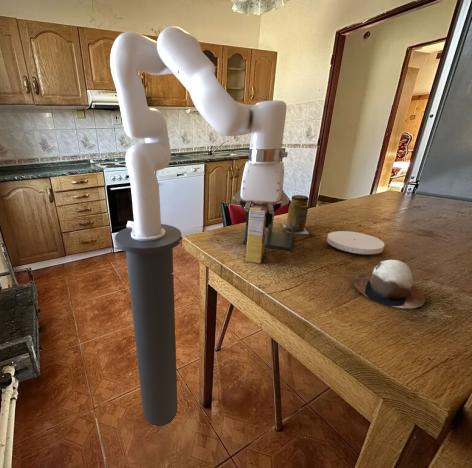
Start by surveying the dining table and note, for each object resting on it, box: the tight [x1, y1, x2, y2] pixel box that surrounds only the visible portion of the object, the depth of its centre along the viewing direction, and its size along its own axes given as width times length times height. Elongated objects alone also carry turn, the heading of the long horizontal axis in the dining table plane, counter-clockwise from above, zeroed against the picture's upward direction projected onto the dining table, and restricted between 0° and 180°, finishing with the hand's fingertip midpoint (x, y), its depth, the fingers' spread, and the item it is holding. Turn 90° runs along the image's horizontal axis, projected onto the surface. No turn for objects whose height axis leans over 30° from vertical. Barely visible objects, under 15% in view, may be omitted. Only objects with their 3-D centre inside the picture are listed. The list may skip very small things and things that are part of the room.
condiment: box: [282, 194, 310, 235], centre depth 90 cm, size 7×8×12 cm
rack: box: [243, 212, 296, 252], centre depth 83 cm, size 14×12×8 cm
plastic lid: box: [326, 230, 386, 255], centre depth 77 cm, size 14×14×2 cm
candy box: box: [245, 201, 268, 265], centre depth 71 cm, size 9×4×15 cm, turn 154°
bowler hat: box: [353, 259, 426, 309], centre depth 56 cm, size 12×10×10 cm
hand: (257, 224), depth 71 cm, fingers closed on candy box, 4 cm apart
